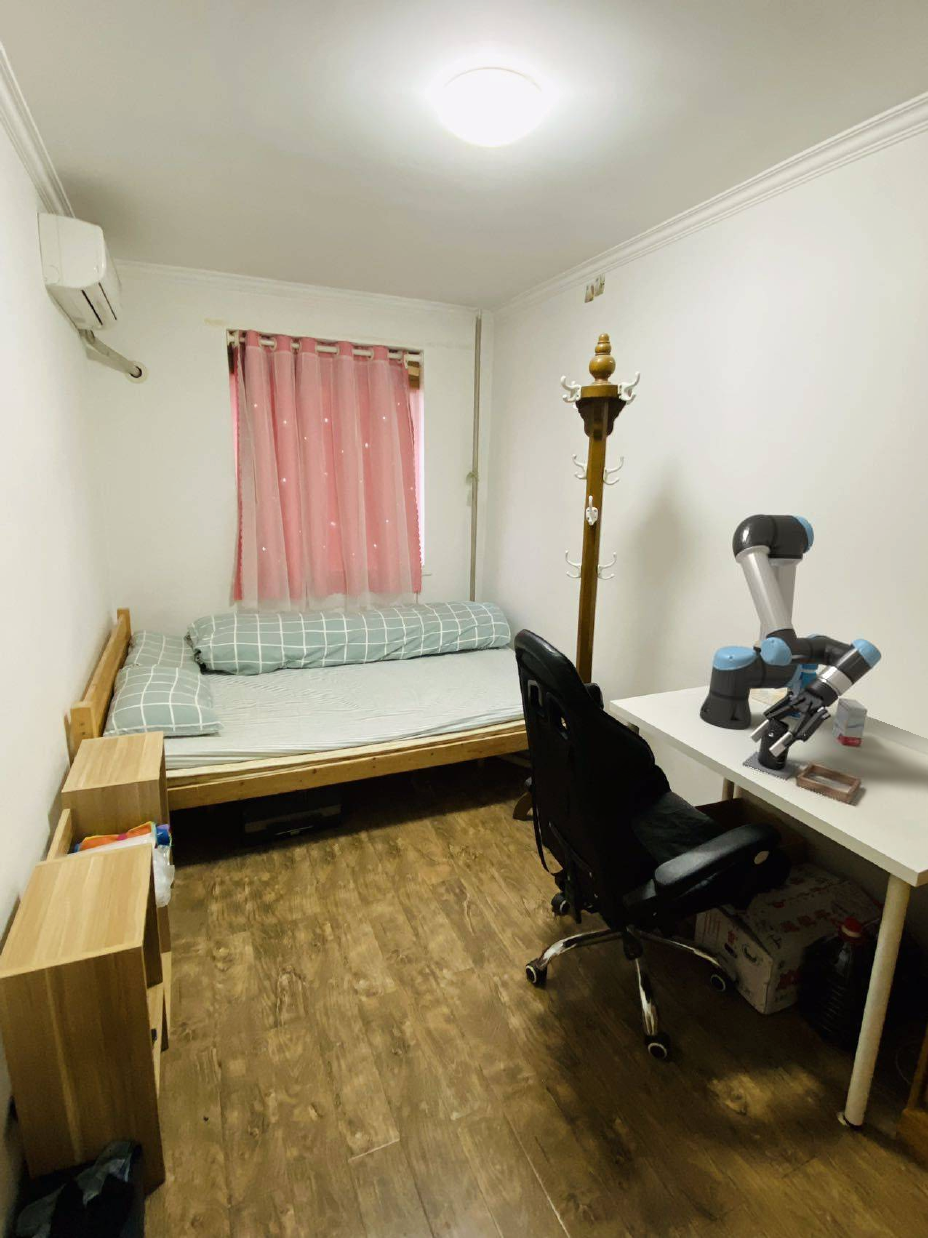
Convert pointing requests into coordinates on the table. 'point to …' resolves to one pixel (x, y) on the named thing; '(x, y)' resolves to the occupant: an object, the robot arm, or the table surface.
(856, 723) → the ink box
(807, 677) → the beverage bottle
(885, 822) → the table surface
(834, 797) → the walnut open box
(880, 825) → the table surface
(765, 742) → the supplement bottle
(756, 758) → the grey rubber mat
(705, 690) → the table surface
